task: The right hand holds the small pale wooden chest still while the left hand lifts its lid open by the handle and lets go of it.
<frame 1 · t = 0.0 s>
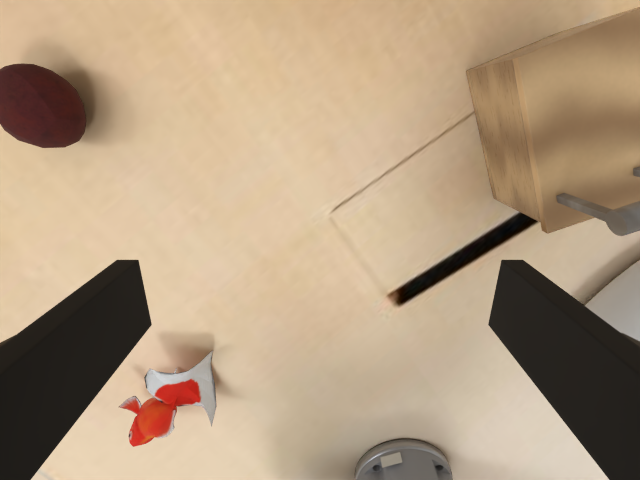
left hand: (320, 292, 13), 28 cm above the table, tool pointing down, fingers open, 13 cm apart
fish: (182, 374, 49), on the table
projector: (636, 301, 45), on the table
lid: (627, 134, 25), point 13 cm above the table, hinge at 0.0°
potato: (67, 109, 37), on the table
chest: (523, 122, 37), on the table
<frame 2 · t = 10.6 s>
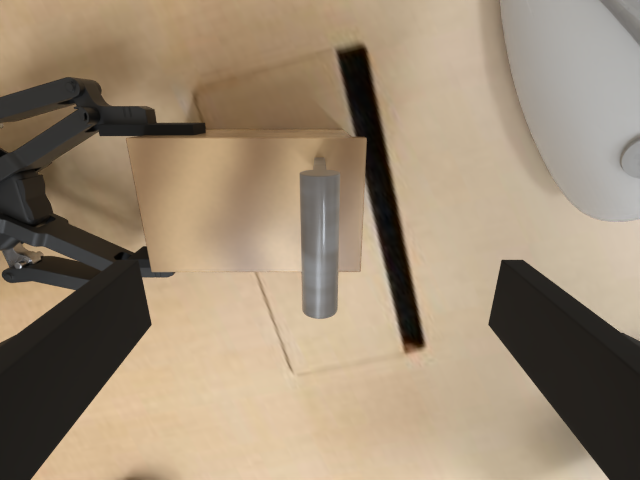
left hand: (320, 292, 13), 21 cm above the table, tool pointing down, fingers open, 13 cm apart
right hand: (207, 197, 27), fingers closed on chest, 9 cm apart
projector: (587, 64, 29), on the table
lid: (241, 225, 20), point 13 cm above the table, hinge at 0.0°
chest: (266, 181, 33), on the table, touching right hand
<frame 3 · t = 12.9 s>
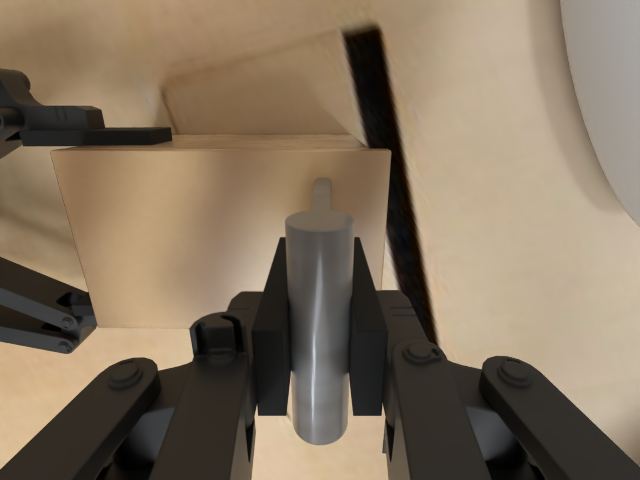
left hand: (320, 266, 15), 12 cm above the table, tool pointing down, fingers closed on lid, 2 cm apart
lid: (205, 281, 14), point 14 cm above the table, hinge at 1.7°, touching left hand
chest: (255, 198, 26), on the table, touching right hand
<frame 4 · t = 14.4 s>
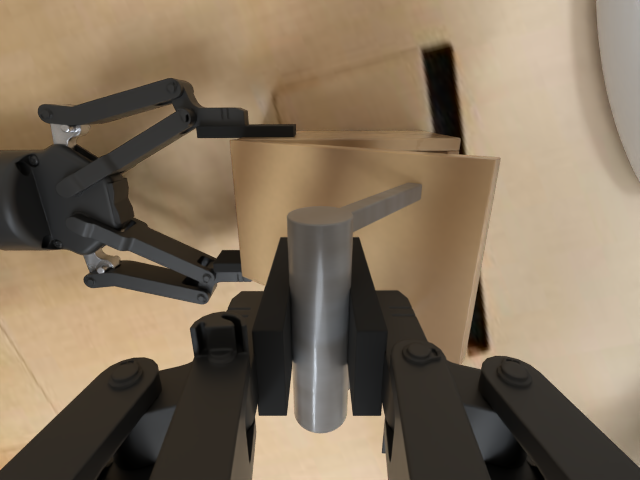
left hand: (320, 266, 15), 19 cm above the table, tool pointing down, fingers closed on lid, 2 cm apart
right hand: (296, 199, 26), fingers closed on chest, 9 cm apart
lid: (284, 256, 16), point 17 cm above the table, hinge at 37.9°, touching left hand
chest: (339, 183, 32), on the table, touching right hand
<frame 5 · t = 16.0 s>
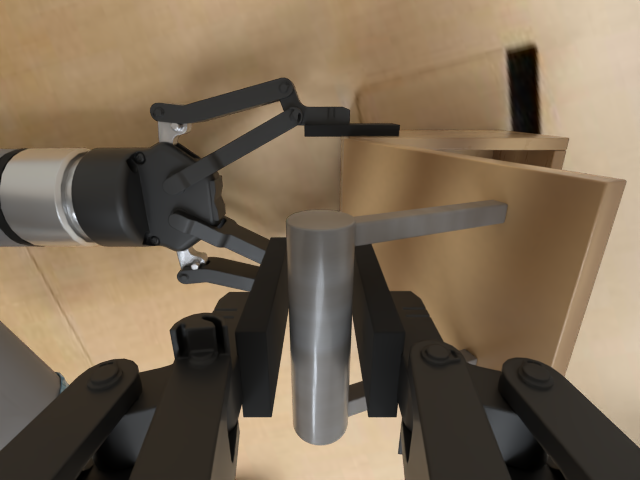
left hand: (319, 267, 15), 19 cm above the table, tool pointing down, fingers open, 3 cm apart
right hand: (390, 197, 27), fingers closed on chest, 9 cm apart
lid: (348, 259, 16), point 18 cm above the table, hinge at 67.6°
chest: (416, 181, 33), on the table, touching right hand
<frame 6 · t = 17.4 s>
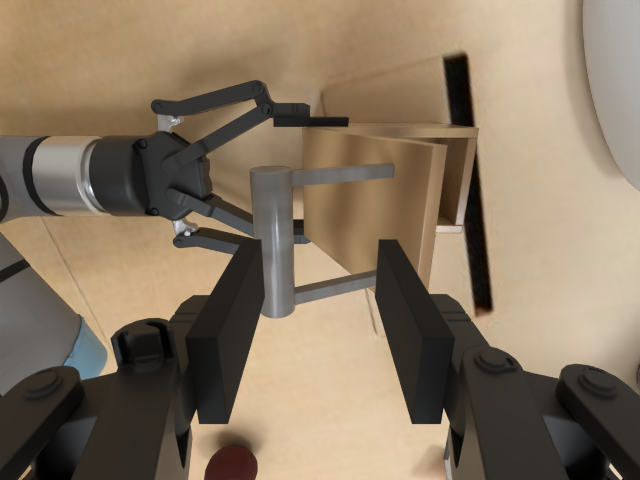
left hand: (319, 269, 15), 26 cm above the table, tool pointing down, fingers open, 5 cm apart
right hand: (345, 177, 33), fingers closed on chest, 9 cm apart
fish: (454, 476, 58), on the table
lid: (300, 211, 22), point 18 cm above the table, hinge at 65.0°
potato: (237, 450, 55), on the table
chest: (373, 166, 39), on the table, touching right hand
when the right hand's fingers open (6 cm above the table, at t = 20.0 s): chest stays where it is, on the table.
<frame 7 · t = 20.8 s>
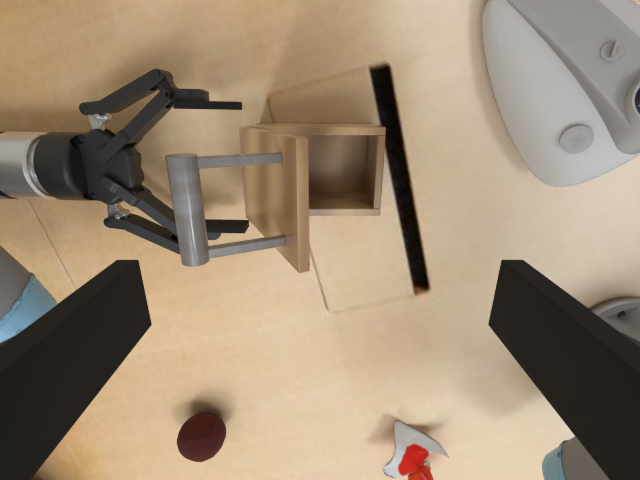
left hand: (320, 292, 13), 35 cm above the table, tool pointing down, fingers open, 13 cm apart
right hand: (243, 169, 39), fingers open, 13 cm apart
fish: (407, 443, 63), on the table
projector: (545, 77, 42), on the table
lid: (224, 192, 28), point 18 cm above the table, hinge at 64.5°
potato: (209, 418, 61), on the table
chest: (316, 161, 45), on the table
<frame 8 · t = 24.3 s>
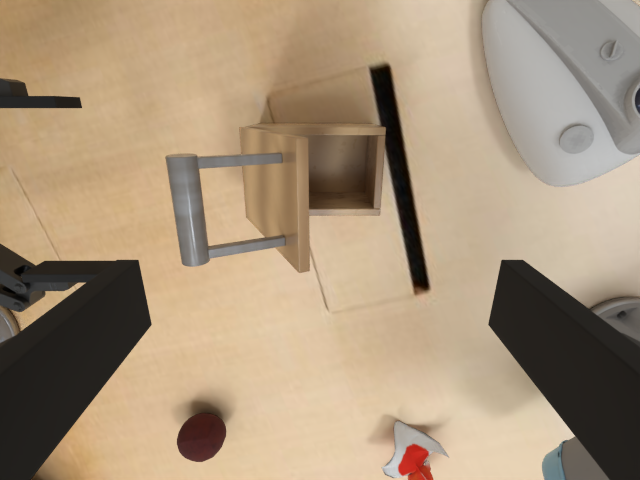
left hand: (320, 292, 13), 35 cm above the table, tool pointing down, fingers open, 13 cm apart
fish: (407, 443, 63), on the table
projector: (545, 77, 42), on the table
lid: (224, 192, 28), point 18 cm above the table, hinge at 64.5°
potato: (209, 418, 61), on the table
chest: (316, 161, 45), on the table
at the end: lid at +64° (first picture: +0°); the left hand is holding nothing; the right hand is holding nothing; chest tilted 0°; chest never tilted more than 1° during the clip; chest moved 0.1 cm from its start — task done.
